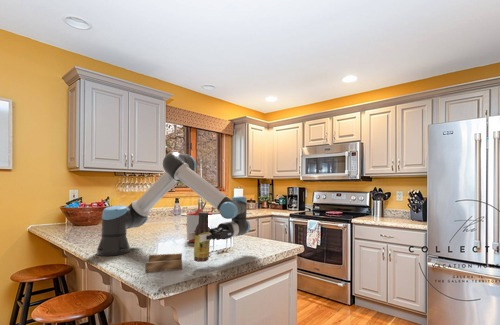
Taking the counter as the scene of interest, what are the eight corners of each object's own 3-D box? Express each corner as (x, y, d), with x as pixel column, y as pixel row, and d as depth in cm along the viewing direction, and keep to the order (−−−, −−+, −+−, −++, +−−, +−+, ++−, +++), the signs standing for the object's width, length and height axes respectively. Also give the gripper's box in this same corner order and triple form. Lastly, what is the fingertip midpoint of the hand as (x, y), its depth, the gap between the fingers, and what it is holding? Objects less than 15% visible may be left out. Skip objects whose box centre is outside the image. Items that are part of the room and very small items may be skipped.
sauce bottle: (200, 263, 114) (201, 213, 116) (190, 260, 118) (191, 212, 120) (212, 260, 119) (213, 212, 120) (203, 257, 123) (204, 211, 125)
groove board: (145, 271, 114) (145, 262, 114) (149, 262, 126) (149, 255, 127) (181, 269, 117) (181, 260, 117) (181, 260, 130) (181, 253, 130)
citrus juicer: (206, 244, 165) (207, 209, 167) (180, 242, 171) (181, 209, 172) (218, 239, 180) (218, 207, 181) (194, 238, 185) (194, 207, 187)
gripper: (244, 240, 129) (212, 250, 110) (211, 236, 139) (176, 244, 120) (244, 224, 130) (212, 230, 110) (211, 220, 140) (177, 226, 120)
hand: (193, 237), depth 115 cm, fingers closed on sauce bottle, 6 cm apart
